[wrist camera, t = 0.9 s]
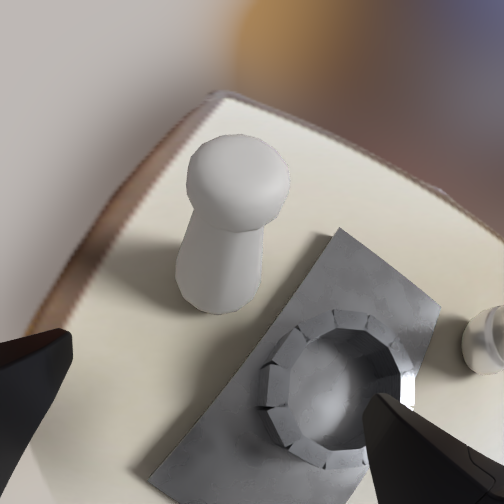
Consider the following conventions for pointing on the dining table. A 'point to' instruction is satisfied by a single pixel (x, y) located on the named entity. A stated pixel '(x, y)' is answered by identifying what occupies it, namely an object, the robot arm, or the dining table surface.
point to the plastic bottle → (485, 342)
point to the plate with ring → (308, 389)
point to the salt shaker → (229, 220)
